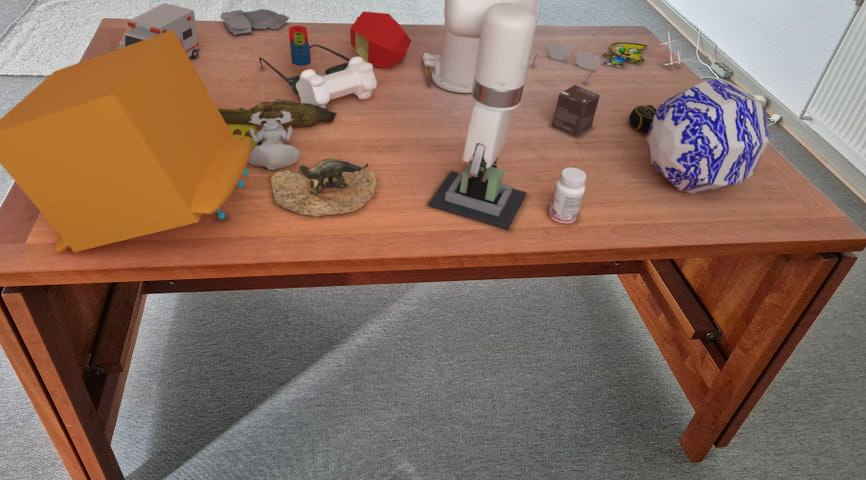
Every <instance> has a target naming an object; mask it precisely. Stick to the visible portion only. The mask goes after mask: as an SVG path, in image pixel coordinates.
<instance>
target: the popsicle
mask: <svg viewBox="0 0 866 480" xmlns="http://www.w3.org/2000/svg"><path fill="white" fill-rule="evenodd" d="M225 123H226V124H227V126H228V128H229V130H230V131H231V133H232V135H233V137H235V138H249V139H250V140H251V151H252V150H253V149H254V147H256V142H254V143H253V138H252V136H251V134H250V133H249V132H250V128H251V127H252V130H253V129H254V134H255V136H256V135H257V132H258V129H257V127H256V124H250V123H230V122H225ZM257 146H259V142H258V143H257Z"/></svg>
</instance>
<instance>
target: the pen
mask: <svg viewBox="0 0 866 480" xmlns="http://www.w3.org/2000/svg"><path fill="white" fill-rule="evenodd" d="M422 64H423V69H424V71H425V76H426V80H427V85H428V87H430V85H431V84H430V81H429V73H428V66H425V65H424V62H423V63H422Z"/></svg>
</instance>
